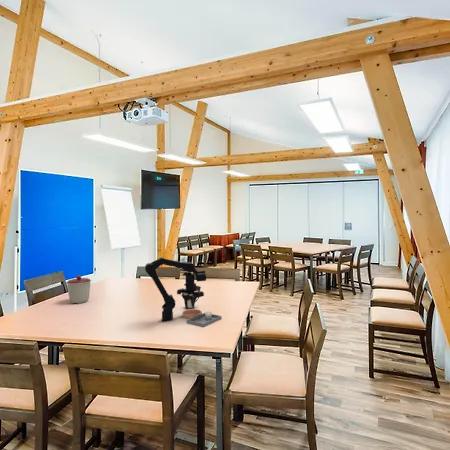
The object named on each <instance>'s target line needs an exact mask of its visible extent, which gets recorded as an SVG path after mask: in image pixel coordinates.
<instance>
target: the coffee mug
mask: <svg viewBox="0 0 450 450" xmlns="http://www.w3.org/2000/svg"><path fill="white" fill-rule="evenodd" d="M190 297H192V295H191V294H190V296H189V300H191V298H190ZM199 298H200V297H199ZM199 298H197V299H196V301H195V304H196V302H198V300H199ZM183 301H184V302H183V303H184V308H185V309H186V310H191V309H195V304H194V307H192V308H188V307H187V304H186V302H185V300H184V299H183Z"/></svg>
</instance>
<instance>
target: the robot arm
mask: <svg viewBox="0 0 450 450" xmlns="http://www.w3.org/2000/svg"><path fill="white" fill-rule="evenodd" d="M163 265H164V266H169V267H173V268H178V269H181V270H183V271H184V272H183V273H182V276H183V277H185V278H184V279H185V283H184V285H183V286H185V288H179V289H177V290H176V295H180V296H181V297H182V299H183V301H184V300H185V302H186V304H187V300H189V296H190V294H191V295H192V297H190V298H191V304H192V307H194V308H195V305H194V304H196V302H197V301H196V300H197V299H198V298H202V297H205V292H204V291H201V287H202V286H201V285H197V283H195V281H196V282H206V281H207V274H206V270H197V269H196V266H195V264H194V263H192V262H191V261H190V262H189V261H179V260H178V261H176V260H172V259H169V258H165V257H159V258H158V259H156V260H154V261H151V262H148V263H146V264H145V265H144V270H145V273H146V274H147V275H148V276H149V277H150V278H151V279H152V281H153V283H154V284H155V286H156V288H157V290H158V291H159V293H160V295H161V296H162V298H163V302H164V304H163V305H161V308H162V311H161V319H160V322H164V323H166V322H168V321H172V320H173V319H174V312H173V310H174V308H175V307H176V300H175V298H174V296H173V295H172V294H169V293H168V292H167V290H166V288H165V287H164V284H163V282H162V280H160V278H159V276H158V273H157V270H156V269H158V268H160V267H161V266H163ZM195 301H196V302H195ZM185 302H184V303H185Z"/></svg>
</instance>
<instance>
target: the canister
mask: <svg viewBox="0 0 450 450" xmlns="http://www.w3.org/2000/svg"><path fill="white" fill-rule="evenodd" d="M91 282H92V279H90V278H88V277H82V275H80V274H79V275H76V277H75V278H72V279H69V280H68V281H66V282H65V283H66V285H67V293H68V297H69V302H70V303H71V304H74V303H78V304H83V303H87V302H88V301H89V299H90V293H91V292H90V291H91Z"/></svg>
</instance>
